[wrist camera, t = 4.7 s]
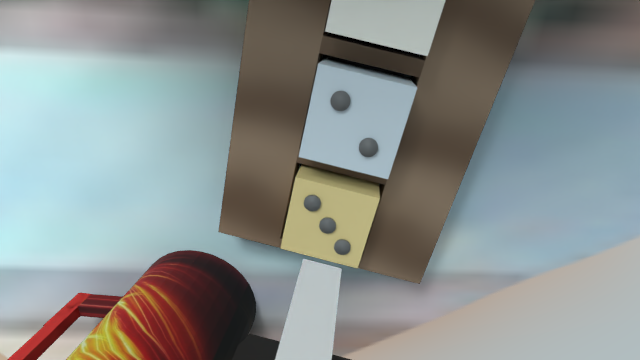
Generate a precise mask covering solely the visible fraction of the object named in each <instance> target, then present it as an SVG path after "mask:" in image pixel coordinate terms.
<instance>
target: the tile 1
mask: <svg viewBox="0 0 640 360" xmlns="http://www.w3.org/2000/svg"><path fill="white" fill-rule="evenodd" d="M379 200H380V192H379V183H376V182H372V181H368V180H364V179H360V178H356V177H352V176H348V175H344V174H340V173H336V172H332V171H328V170H325V169H321V168H317V167H313V166H309V165H305V164H302V165H301V167H300V169H299V171H298V173H297V175H296V177H295V182H294V186H293V191H292V196H291V201H290V205H289V210H288V215H287V219H286V224H285V229H284V233H283V238H282V243H281V248H280V249H284V250H288V251H292V252H296V253H299V254H303V255H307V256H311V257H315V258H319V259H323V260H326V261H330V262H334V263H338V264H342V265H346V266H350V267H354V268H357V269H358V266H359V263H360V260H361V256H362V253H363V250H364V247H365V244H366V241H367V238H368V234H369V231H370V228H371V225H372V222H373V219H374V216H375V212H376V209H377V206H378V203H379Z"/></svg>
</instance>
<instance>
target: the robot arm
mask: <svg viewBox="0 0 640 360" xmlns="http://www.w3.org/2000/svg"><path fill="white" fill-rule="evenodd" d="M341 270H342V269H341V268H338V267H334V266H330V265H326V264H322V263H318V262H315V261H311V260H307V259H303V261H302V265H301V268H300V272H299V275H298V279H297V283H296V286H295V290H294V293H293V297H292V301H291V304H290V308H289V311H288V315H287V319H286V322H285V326H284V329H283V333H282V337H281V340H280V342H279V341H275V340H271V339H268V338H264V337H260V336H256V335H253V334H249V335H248V336H247V337H246V338H245V339H244V340H243V341H242V342H241V343H240V344H239V345H238V346H237V349H236V351H235V353H234V356H233V358H232V360H350V359H346V358H343V357H339V356H335V355H332V351H333V342H334V333H335V324H336V315H337V306H338V297H339V288H340V279H341Z"/></svg>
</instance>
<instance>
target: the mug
mask: <svg viewBox="0 0 640 360" xmlns="http://www.w3.org/2000/svg"><path fill="white" fill-rule="evenodd" d="M255 313H256V302H255V298H254V294H253V291H252V289H251V287H250V285H249V283H248V282H247V281H246V279H245V278H244V277H243V275H242V274H241V273H240V272H239V271H238V270H236V269H235V268H234V267H233V266H232V265H230V264H229V263H227V262H226V261H224V260H222V259H220V258H218V257H216V256H214V255H211V254H207V253H204V252H200V251H191V250H188V251H177V252H173V253H169V254H167V255H165V256H163V257H161V258H159V259H158V260H157V261H156V262H155V263H154V264H153V265H152V266H151V267H150V268H149V269H148V270H147V271H146V272H145V273H144V275H143V276H142V277H141V278H140V279H139V280H138V281H137V282H136V283H135V284H134V285H133V287H132V288H131V289H130V290H129V291H128V292H127V293H126V294H125V295H124V296H123V297H119V296H106V295H93V294H86V293H78V294H77V295H76V296H75V297H74V298H73V299H72V300H71V301H69V302H68V303H67V304H66V305H65V306H64V307H63V308H62V309H61V310H60V311H59V312H57V313H56V314H55V315H54V316H53V317H52V318H51V319H50V320H49V321H48V322H47V323H45V324H44V325H43V326H44V327H43V328H41V329H40V330H39V331H38V332H37V333H36V334H35V335H34V336H33V337H32V338H31V339H29V340H28V341H27V342H26V343H25V344H24V345H23V346H22V347H21V348H20V349H19V350H18V351H16V352H15V353H14V354H13V355H12V356H11V357H10V358H9V359H8V360H37V359H38V358H39V357H40V356H41V355H42V354H43V353H44V352H45V351H46V350H47V349H48V348H49V347H50V346H51V345H52V344H53V343H54V342H55V341H56V340H57V339H58V338H59V337H60V336H61V335H62V334H63V333H64V332H65V331H66V330H67V329H68V328H69V327H70V326H71V325H72V324H73V323H74V322H75V321H76V320H77V319H78V318H79V317H80V316H87V317H98V318H103V319H102V321H101V322H100V323H99V324H98V325H97V326H96V327H95V328H94V329H93V330H92V332H91V333H90V334H89V335H88V336H87V337H86V338H85V339H84V340H83V341H82V342H81V344H80V345H79V346H78V347H77V348H76V349H75V350H74V351H73V352H72V353H71V355H70V356H69V357H68V358H67V359H66V360H232V358H233V356H234V353H235V351H236V349H237V346H238V345H239V344H240V343H241V342H242V341H243V340H244V339H245V338H246V337H247V336H248V334H249V331H250V328H251V326H252V323H253V321H254V317H255Z"/></svg>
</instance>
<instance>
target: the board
mask: <svg viewBox="0 0 640 360" xmlns="http://www.w3.org/2000/svg"><path fill="white" fill-rule="evenodd" d="M331 1H332V0H249V4H248V12H247V19H246V27H245V34H244V42H243V50H242V57H241V65H240V72H239V80H238V88H237V95H236V103H235V110H234V118H233V126H232V133H231V141H230V148H229V156H228V164H227V171H226V179H225V187H224V194H223V202H222V209H221V217H220V225H219V232H221V233H225V234H228V235H232V236H236V237H240V238H244V239H248V240H252V241H255V242H259V243H263V244H267V245H271V246H275V247H279V248H281V243H282V238H283V233H284V229H285V224H286V219H287V215H288V210H289V205H290V201H291V196H292V191H293V186H294V182H295V177H296V175H297V173H298V170H299V165H300V163H301V164H305V165H309V166H313V167H317V168H321V169H325V170H328V171H332V172H336V173H340V174H344V175H348V176H352V177H356V178H360V179H364V180H368V181H372V182H376V183H380V184H379V192H380V200H379V203H378V206H377V209H376V212H375V216H374V219H373V222H372V225H371V228H370V231H369V234H368V238H367V241H366V244H365V247H364V250H363V253H362V256H361V260H360V263H359V266H358V268H360V269H364V270H368V271H371V272H375V273H379V274H383V275H387V276H391V277H395V278H399V279H402V280H406V281H410V282H414V283H418V284H420V282H421V279H422V277H423V275H424V272H425V270H426V267H427V265H428V262H429V260H430V257H431V255H432V252H433V250H434V248H435V245H436V243H437V240H438V238H439V235H440V233H441V230H442V228H443V226H444V223H445V221H446V218H447V216H448V213H449V211H450V208H451V206H452V203H453V201H454V199H455V196H456V194H457V191H458V189H459V186H460V184H461V181H462V179H463V176H464V174H465V172H466V169H467V167H468V164H469V162H470V159H471V157H472V154H473V152H474V149H475V147H476V145H477V142H478V140H479V137H480V135H481V132H482V130H483V127H484V125H485V122H486V120H487V118H488V115H489V113H490V110H491V108H492V105H493V103H494V100H495V98H496V95H497V93H498V91H499V88H500V86H501V83H502V81H503V78H504V76H505V73H506V71H507V68H508V66H509V64H510V61H511V59H512V56H513V54H514V51H515V49H516V46H517V44H518V42H519V39H520V37H521V34H522V32H523V29H524V27H525V24H526V22H527V19H528V17H529V15H530V12H531V10H532V7H533V5H534V2H535V0H446V1H445V4H444V7H443V10H442V13H441V16H440V19H439V22H438V25H437V29H436V32H435V35H434V38H433V41H432V44H431V47H430V50H429V53H428V56H424V55H420V56H419V57H416V56H412V55H408V54H404V53H400V52H396V51H392V50H388V49H383V48H379V47H375V46H371V45H367V44H363V43H359V42H355V41H351V40H346V39H342V38H338V37H334V36H330V35H327V34H328V32H325V29H326V24H327V20H328V15H329V10H330V5H331ZM323 54H325V55H329V56H333V57H338V58H342V59H346V60H350V61H354V62H358V63H362V64H366V65H370V66H374V67H378V68H383V69H387V70H391V71H395V72H399V73H403V74H407V75H411V76H413V79H412V82H413V83H414V84H415V85H416V87H417V91H416V94H415V97H414V100H413V103H412V106H411V110H410V113H409V116H408V119H407V122H406V125H405V128H404V131H403V134H402V138H401V141H400V144H399V147H398V150H397V153H396V156H395V159H394V162H393V166H392V169H391V172H390V175H389V178H388V179H384V178H380V177H376V176H372V175H368V174H365V173H361V172H357V171H353V170H349V169H345V168H341V167H337V166H333V165H329V164H325V163H321V162H317V161H313V160H309V159H305V158H301V157H299V152H300V148H301V143H302V138H303V133H304V129H305V124H306V119H307V114H308V110H309V105H310V100H311V95H312V91H313V86H314V81H315V77H316V72H317V67H318V63H320V62H321V61H322V58H323Z"/></svg>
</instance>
